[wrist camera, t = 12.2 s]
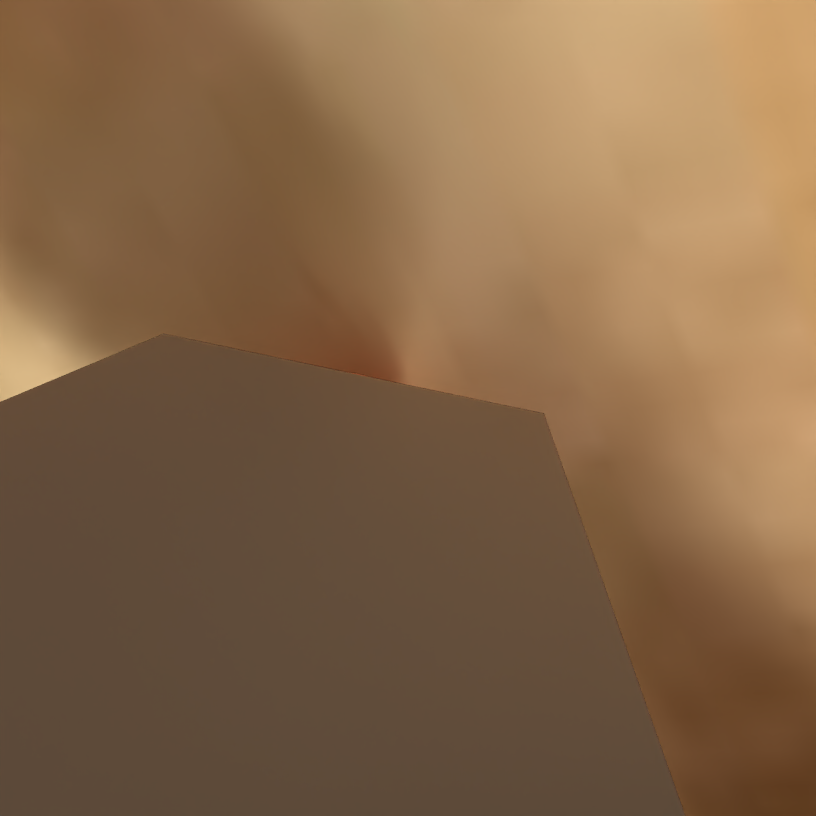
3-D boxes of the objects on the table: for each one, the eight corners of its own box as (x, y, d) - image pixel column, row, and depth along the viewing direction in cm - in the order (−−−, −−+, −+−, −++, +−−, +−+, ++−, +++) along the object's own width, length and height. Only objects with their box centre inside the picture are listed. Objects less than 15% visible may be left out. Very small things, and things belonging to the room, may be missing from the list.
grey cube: (544, 413, 11) (770, 1060, 3) (459, 702, 14) (442, 1465, 5) (163, 333, 11) (-704, 695, 3) (155, 632, 14) (-305, 1255, 6)
